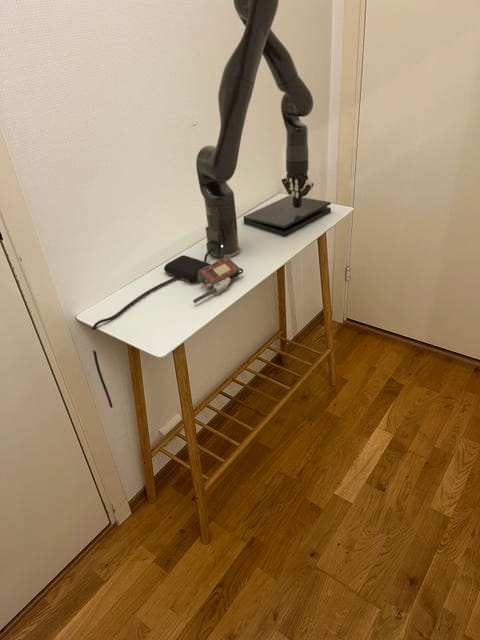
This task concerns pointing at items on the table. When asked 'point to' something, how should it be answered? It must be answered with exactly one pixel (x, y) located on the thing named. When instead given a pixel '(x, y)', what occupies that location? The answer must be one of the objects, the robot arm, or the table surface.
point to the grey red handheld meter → (218, 276)
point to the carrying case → (185, 268)
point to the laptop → (292, 227)
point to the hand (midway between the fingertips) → (297, 207)
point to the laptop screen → (286, 211)
